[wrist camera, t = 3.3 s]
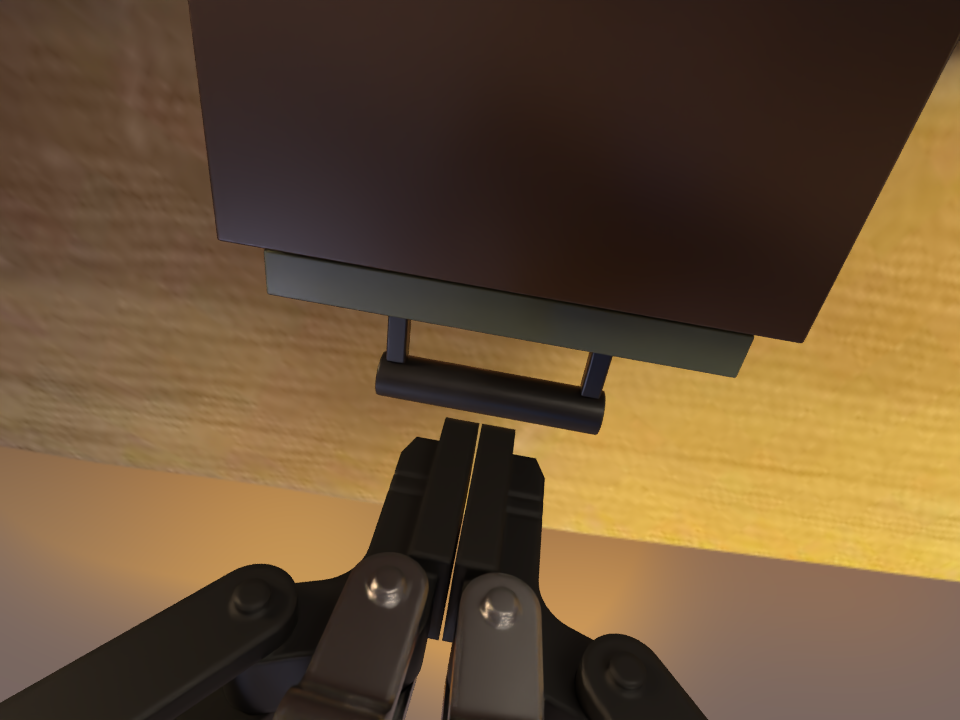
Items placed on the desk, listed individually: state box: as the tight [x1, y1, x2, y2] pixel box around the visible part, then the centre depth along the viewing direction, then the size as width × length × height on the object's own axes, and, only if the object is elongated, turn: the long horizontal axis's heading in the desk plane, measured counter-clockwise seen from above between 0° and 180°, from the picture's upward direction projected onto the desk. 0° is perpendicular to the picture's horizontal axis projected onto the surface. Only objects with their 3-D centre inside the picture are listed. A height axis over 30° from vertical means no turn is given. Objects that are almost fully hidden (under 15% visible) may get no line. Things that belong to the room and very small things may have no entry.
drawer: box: [264, 249, 754, 435], centre depth 16 cm, size 18×11×8 cm, turn 172°
